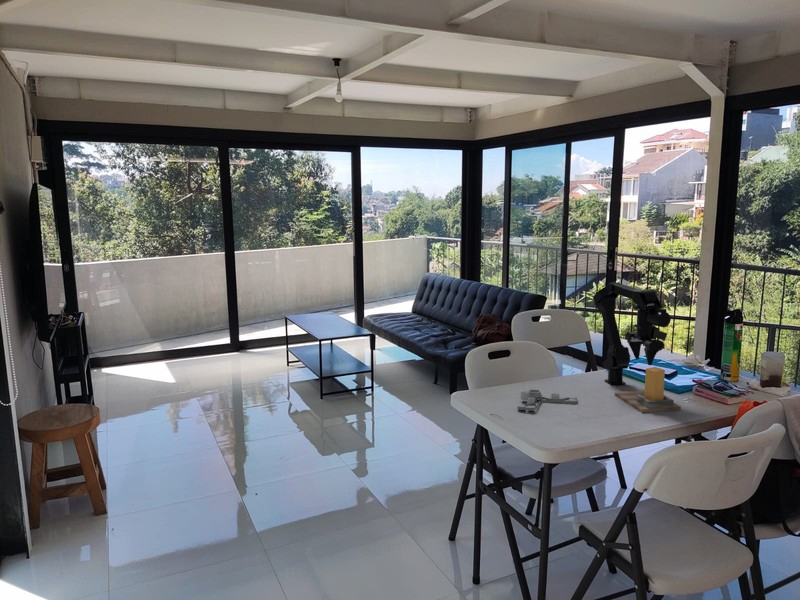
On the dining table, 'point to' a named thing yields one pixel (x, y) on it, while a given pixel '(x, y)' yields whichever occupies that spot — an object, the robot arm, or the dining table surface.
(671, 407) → the keeper
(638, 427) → the dining table surface
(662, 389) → the block
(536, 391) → the pulley system
